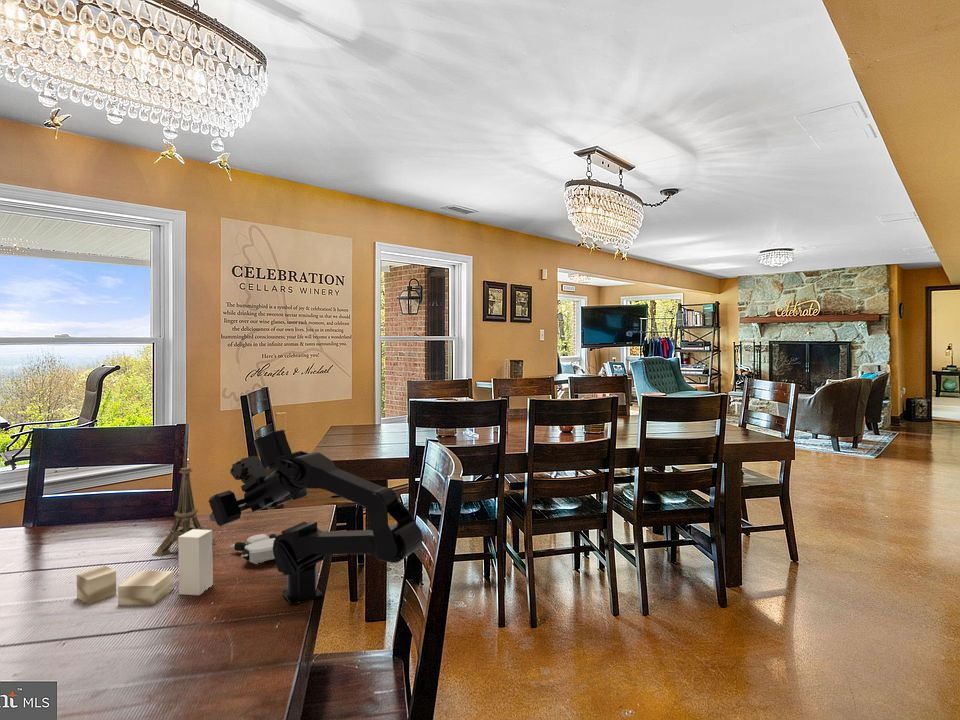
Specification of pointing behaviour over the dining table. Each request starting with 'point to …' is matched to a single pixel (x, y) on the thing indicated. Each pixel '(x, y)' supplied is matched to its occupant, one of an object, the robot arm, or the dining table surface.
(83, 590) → the cube
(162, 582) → the tan glossy block
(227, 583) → the dining table surface
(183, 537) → the pillar
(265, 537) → the robot toy
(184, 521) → the eiffel tower
